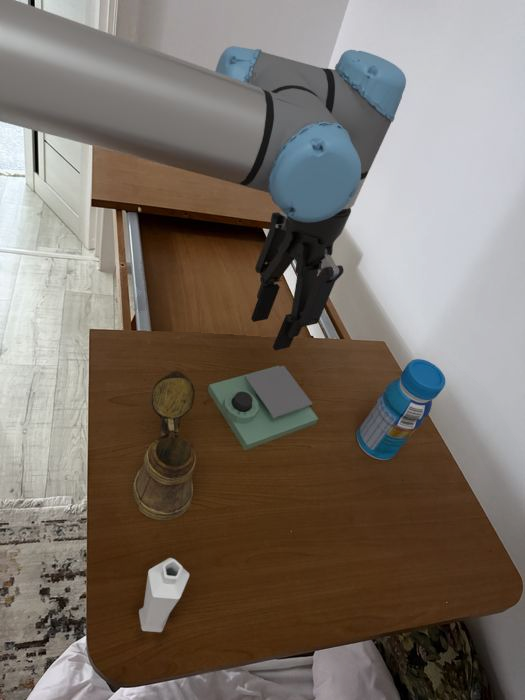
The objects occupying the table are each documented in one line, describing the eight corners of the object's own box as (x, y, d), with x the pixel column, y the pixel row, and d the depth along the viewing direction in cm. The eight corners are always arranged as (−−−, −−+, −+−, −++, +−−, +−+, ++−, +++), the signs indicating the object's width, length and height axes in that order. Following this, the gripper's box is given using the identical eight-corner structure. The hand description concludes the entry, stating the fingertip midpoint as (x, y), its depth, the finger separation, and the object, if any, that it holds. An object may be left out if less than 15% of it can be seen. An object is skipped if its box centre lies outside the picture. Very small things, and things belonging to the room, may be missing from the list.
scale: (242, 451, 86) (247, 439, 83) (204, 391, 93) (208, 378, 90) (315, 424, 95) (322, 412, 92) (276, 371, 102) (281, 359, 99)
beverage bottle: (346, 439, 94) (394, 367, 81) (368, 417, 100) (417, 347, 86) (382, 470, 91) (438, 401, 78) (403, 446, 97) (459, 378, 84)
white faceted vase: (173, 598, 66) (195, 549, 56) (169, 635, 63) (192, 590, 53) (138, 595, 65) (153, 545, 55) (132, 632, 62) (148, 586, 52)
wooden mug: (185, 442, 84) (207, 369, 72) (195, 518, 75) (222, 450, 63) (130, 442, 81) (143, 367, 69) (133, 522, 72) (149, 451, 60)
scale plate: (272, 419, 88) (273, 417, 87) (244, 378, 93) (245, 376, 93) (311, 406, 93) (313, 404, 92) (282, 367, 98) (283, 365, 97)
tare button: (238, 414, 87) (240, 407, 86) (229, 400, 89) (231, 394, 87) (253, 409, 89) (256, 402, 88) (244, 395, 90) (246, 389, 89)
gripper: (394, 238, 59) (323, 370, 74) (305, 158, 68) (258, 290, 84) (348, 244, 55) (283, 383, 70) (260, 158, 64) (220, 297, 80)
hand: (270, 332), depth 77 cm, fingers open, 6 cm apart
